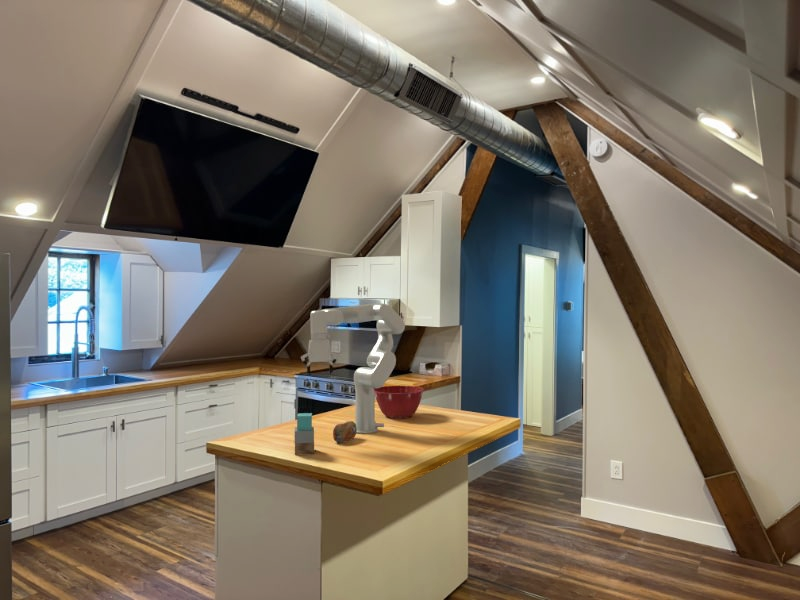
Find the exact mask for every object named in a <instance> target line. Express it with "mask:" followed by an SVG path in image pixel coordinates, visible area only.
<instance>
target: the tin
mask: <svg viewBox="0 0 800 600" xmlns="http://www.w3.org/2000/svg"><path fill="white" fill-rule="evenodd" d="M356 431H357V429H356V424H355V421H344V422H341V423H338V424H336V425H335V426H334V428H333V431H332V436H333V440H334V442H336V443H340V444H343V443H345V441H346V442H349V441H351V439H352V440H353V439H354V438H355V437H356V434H357V433H356ZM348 440H349V441H348ZM342 442H343V443H342Z"/></svg>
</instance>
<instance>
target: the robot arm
mask: <svg viewBox="0 0 800 600" xmlns="http://www.w3.org/2000/svg"><path fill="white" fill-rule="evenodd" d="M309 315H310V319H309V320H310V340H308V351H307V353H305V354H303V355H301V356H300V359H301V361H302V363H303V364H304V365H305V366H306V373H307V374H308V375H309V376H311V364H312V363H321V362H327V363H329V367H328V368H329V374H330V375H332V373H333V372H334V369H333V368H334V364H335V363H336V362H337V360H338V359H339V354H336V353H335V352H332V351H331V346H330V345H331V344H330V339H328V338H331V334H329V333H328V326H338V325H341V324H342V323H343V324H344V323H345V324H358V323H365V322H371V321H376V331H377V334H378V335H377V341H376V343H375V344H374V346H373V347H372V349H371V351H369V354H368V356H367V358H366V364H367V366H361V367H357V369H356V370H355V371H354V373H353V383H354V389H355V390H354V391H355V404H354V405H355V414H354V415H355V419H354V420H355V421H354V423H355V424H356V429H357V431H356V434H364V435H365V434H374V433H376V432H378V430H379V429H378V428H384V427H385V424H384V422H376V419H375V417H376V415H375V405H376V404H375V403H376V402H375V400H376V397H375V393H374V389H375V388H380V387H384V385H385V384H386V382H387V381H388V379H389V377H390V376H391V374H392V372H393V370H394V369H395V367H396V365H397V364H396V362H397V357H396V355H395V353H394V352H392V349H393V348H394V338H393V335H400V334H402V333H403V332H404V331H405V328H406V325H405V320H404V319H403V318H402V317H401V316H400V315H399V314H398V313H397V312H396V310H394V309H393V308H392V307H391V306H390V305H388V304H387V303H366V304H357V305H349V306H348V305H347V306H343V307H342V306H340V307H332V308H324V309H321V310H312V311H311V312H310V314H309ZM332 356H333V357H334V358H333V360H331V357H332ZM305 358H308V361H306V359H305Z"/></svg>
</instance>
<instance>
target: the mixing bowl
mask: <svg viewBox="0 0 800 600" xmlns="http://www.w3.org/2000/svg"><path fill="white" fill-rule="evenodd" d="M373 390H374V394H375V400H376V403H377V404H378V407H379V409H380V411H381V413H382V414H383V415H385V417H387V418H389V417H391V418H390V419H395V418H402V419H408V418H407V417H409V418H410V416H411V417H412V416H413V415H414V414H415V413H416V412H417V411H418V408H419V405H420V404H421V401H422V396H423V392H424V387H421V386H415V385H414V386H413V385H385V386H384V385H383V386H382V387H380V388H373Z"/></svg>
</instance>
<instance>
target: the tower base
mask: <svg viewBox="0 0 800 600" xmlns="http://www.w3.org/2000/svg"><path fill="white" fill-rule="evenodd" d="M297 454H310V455H315V442H314V443H295V442H294V456H298V455H297Z"/></svg>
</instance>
